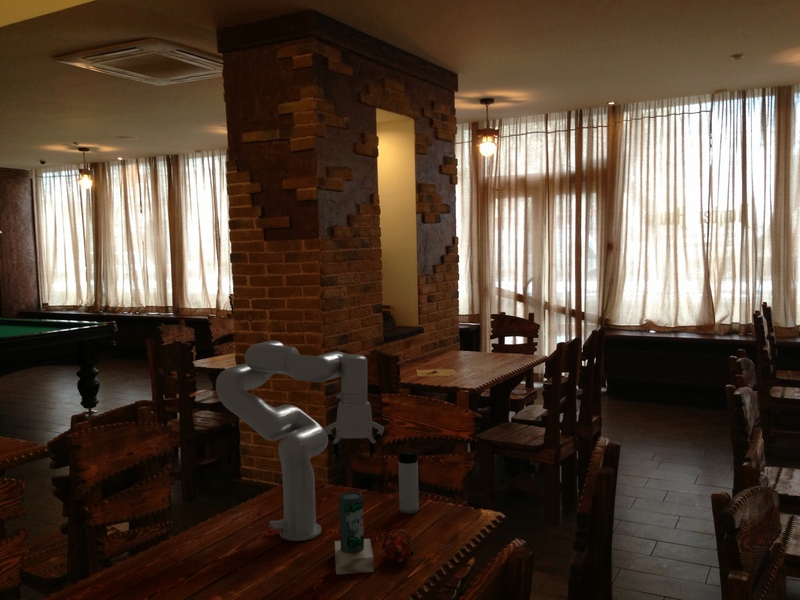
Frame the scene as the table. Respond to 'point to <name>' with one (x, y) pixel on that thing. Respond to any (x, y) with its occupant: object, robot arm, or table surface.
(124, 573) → the table surface
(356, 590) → the table surface
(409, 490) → the travel mug
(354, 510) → the can
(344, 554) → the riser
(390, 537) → the dragon fruit
